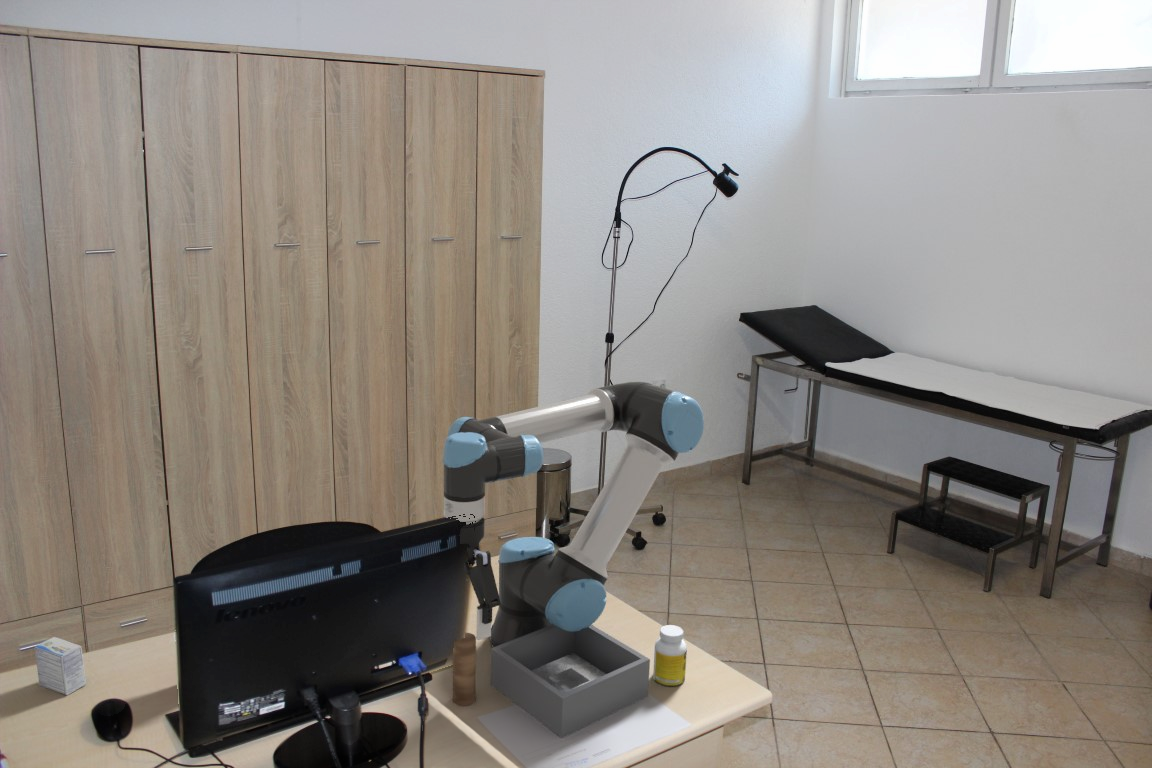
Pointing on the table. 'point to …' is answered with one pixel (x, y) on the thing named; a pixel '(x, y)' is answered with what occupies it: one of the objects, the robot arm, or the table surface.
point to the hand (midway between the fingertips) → (462, 623)
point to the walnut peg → (464, 670)
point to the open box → (577, 705)
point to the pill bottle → (670, 657)
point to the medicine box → (60, 665)
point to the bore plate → (568, 671)
